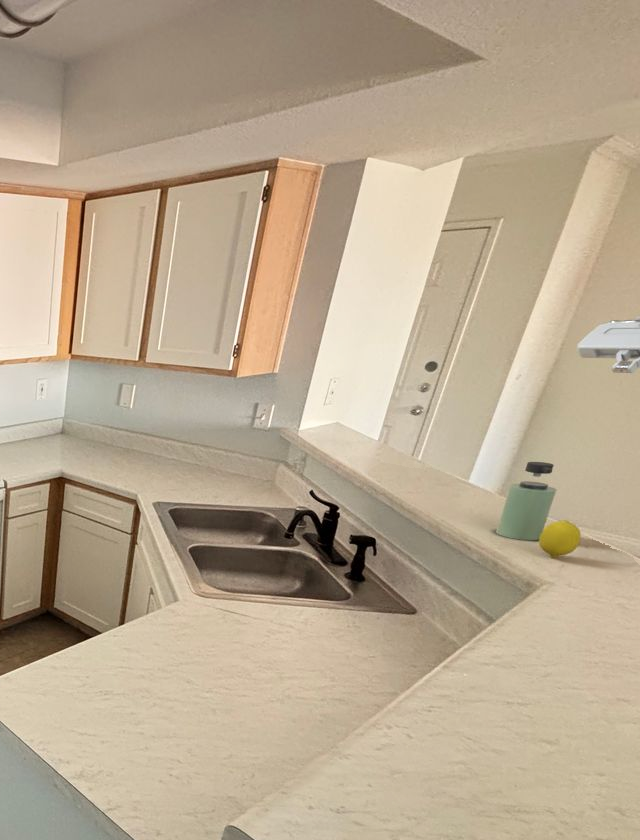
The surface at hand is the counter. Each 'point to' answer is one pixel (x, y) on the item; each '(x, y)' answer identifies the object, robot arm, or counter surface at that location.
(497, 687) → the counter surface
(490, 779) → the counter surface
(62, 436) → the counter surface
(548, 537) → the lemon
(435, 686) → the counter surface
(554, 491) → the soap bottle
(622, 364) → the robot arm
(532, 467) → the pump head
